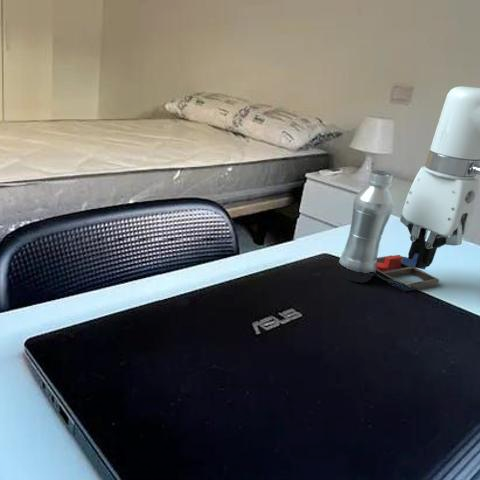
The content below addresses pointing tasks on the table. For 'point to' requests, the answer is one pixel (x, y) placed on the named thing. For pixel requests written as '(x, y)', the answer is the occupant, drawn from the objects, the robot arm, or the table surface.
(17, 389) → the table surface
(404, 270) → the cutlery tray
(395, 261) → the red stepped block
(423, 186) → the robot arm
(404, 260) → the blue stepped block
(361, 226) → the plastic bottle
